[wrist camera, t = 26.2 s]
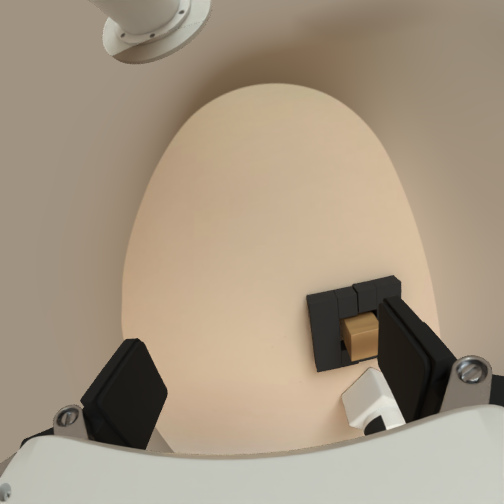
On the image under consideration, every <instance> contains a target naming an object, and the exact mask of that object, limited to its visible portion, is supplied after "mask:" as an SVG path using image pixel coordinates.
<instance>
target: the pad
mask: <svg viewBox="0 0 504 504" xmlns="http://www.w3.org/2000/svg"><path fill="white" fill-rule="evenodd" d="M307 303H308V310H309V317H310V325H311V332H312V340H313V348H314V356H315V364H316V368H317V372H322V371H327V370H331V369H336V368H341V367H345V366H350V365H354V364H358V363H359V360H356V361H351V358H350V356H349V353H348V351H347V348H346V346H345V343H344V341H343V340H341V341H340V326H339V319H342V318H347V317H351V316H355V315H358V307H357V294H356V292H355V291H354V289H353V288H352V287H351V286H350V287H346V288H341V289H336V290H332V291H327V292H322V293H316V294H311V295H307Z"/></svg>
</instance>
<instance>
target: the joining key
mask: <svg viewBox="0 0 504 504" xmlns="http://www.w3.org/2000/svg"><path fill="white" fill-rule="evenodd" d="M340 320H341V335H342V338H343V341H344V343H345V346H346V348H347V351H348V353H349V356H350V358H351V361H356V360H360V359H364V358H368V357H372V356H376V355H378V320H377V318H376V317H375V316H374V314H373V313H372V311H366V312H362V313H359V312H358V315H355V316H351V317H347V318H342V319H340Z"/></svg>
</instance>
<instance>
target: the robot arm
mask: <svg viewBox="0 0 504 504" xmlns="http://www.w3.org/2000/svg"><path fill="white" fill-rule="evenodd" d="M89 1H90V2H92V3H93V4H94V5H95V6H96V7H98V8H99V9H100V10H101V11H103V12H104V13H105V14H106V15H108V16H109V17H110V18H111V19H112V20H113V21H115V33H116V35H117V37H118V38H119V39H120V40H121V41H123V42H124V43H126V44H129V45H135V46H137V45H146V44H150V43H153V42H156V41H158V40H160V39H162V38H164V37H166V36H167V35H169V34H171V33H172V32H173V31H175V30H176V29H177V28H178V27H179V26H180V25H181V24H182V23H183V22H184V21H185V19H186V18H187V16H188V14H189V12H190V9H191V0H89ZM377 360H378V365H379V368H380V370H381V372H382V374H383V376H384V378H385V380H386V382H387V384H388V386H389V388H390V390H391V392H392V394H393V396H394V399H395V401H396V403H397V405H398V407H399V409H400V412H401V414H402V416H403V418H404V420H405V423H406V424H404V425H401V426H398V427H394V428H391V429H388V430H385V431H381V432H378V433H374V434H370V435H367V436H363V437H359V438H355V439H350V440H346V441H342V442H337V443H332V444H327V445H322V446H316V447H310V448H304V449H297V450H289V451H281V452H271V453H258V454H239V455H199V454H180V453H166V452H157V451H148V450H146V447H147V444H148V442H149V439H150V437H151V434H152V432H153V429H154V427H155V425H156V422H157V420H158V417H159V415H160V412H161V410H162V408H163V405H164V403H165V400H166V398H167V394H168V392H167V388H166V386H165V384H164V382H163V380H162V378H161V376H160V375H159V373H158V371H157V369H156V367H155V365H154V362H153V360H152V358H151V356H150V354H149V352H148V350H147V348H146V346H145V344H144V342H142V341H141V340H140V339H138V338H135V339H126V340H124V342H123V343H122V344H121V345H120V347H119V348H118V349H117V351H116V352H115V353H114V355H113V356H112V357H111V359H110V360H109V361H108V363H107V364H106V365H105V367H104V368H103V369H102V371H101V372H100V373H99V375H98V376H97V378H96V379H95V380H94V382H93V383H92V384H91V386H90V387H89V389H88V390H87V391H86V393H85V394H84V396H83V397H82V398H81V400H80V401H81V403H82V404H83V406H84V408H83V409H81V407H79V406H77V405H68V406H65V407H63V408H62V409H60V410H59V411H58V412H57V413H56V415H55V417H54V420H53V428H50V429H48V430H46V431H43V432H41V433H38V434H36V435H34V436H31V437H29V438H26V439H24V440H23V441H22V443H21V447H20V449H19V451H18V452H16V453H15V454H13V455H12V456H11V457H9V458H8V459H6V460H5V461H4V462H2V463H0V504H504V376H499V375H493V374H492V367H491V366H490V364H489V362H487V361H486V360H485V359H484V358H481V357H479V356H474V355H471V356H465V357H462V358H460V359H458V360H457V359H456V357H455V356H454V355H453V354H452V353H451V351H450V350H449V349H448V348H447V347H446V345H445V344H444V343H443V342H442V341H441V340H440V339H439V337H438V336H437V335H436V334H435V333H434V332H433V331H432V329H431V328H430V327H429V326H428V325H427V324H426V323H425V322H422V321H421V319H420V318H419V317H418V316H417V315H416V314H415V313H414V312H413V311H412V310H411V309H410V307H409V306H408V305H407V304H406V303H405V302H404V301H403V300H402V299H401V298H400V297H399V296H398V295H395V296H391V297H387V298H384V299H383V301H382V303H379V307H378V356H377Z"/></svg>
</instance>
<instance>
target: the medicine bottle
mask: <svg viewBox="0 0 504 504" xmlns="http://www.w3.org/2000/svg"><path fill="white" fill-rule="evenodd" d="M341 397H342V401H343V405H344V408H345V412H346V416H347V420H348V423H349V426H351V427H354V428H357V429H361V430H364V434H365V436H367V435H370V434H374V433H378V432H381V431H385V430H388V429H391V428H394V427H398V426H401V425H404V424H406V423H405V420H404V418H403V416H402V414H401V412H400V409H399V407H398V405H397V403H396V401H395V399H394V396H393V394H392V392H391V390H390V388H389V386H388V384H387V382H386V380H385V378H384V376H383V374H382V373H381V372H379V371H377V370H375V369H373V368H371V367H370V368H369V369H368V370H367V371H366V372H365V373H364V374H363V375H362V376H361V377H360V378H359V379H358V380H357V381H356V382H355V383H354V384H353V385H352V386H351V387H350V388H349V389H348V390H347V391H345V392H344V393H343V394H342V395H341Z"/></svg>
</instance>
